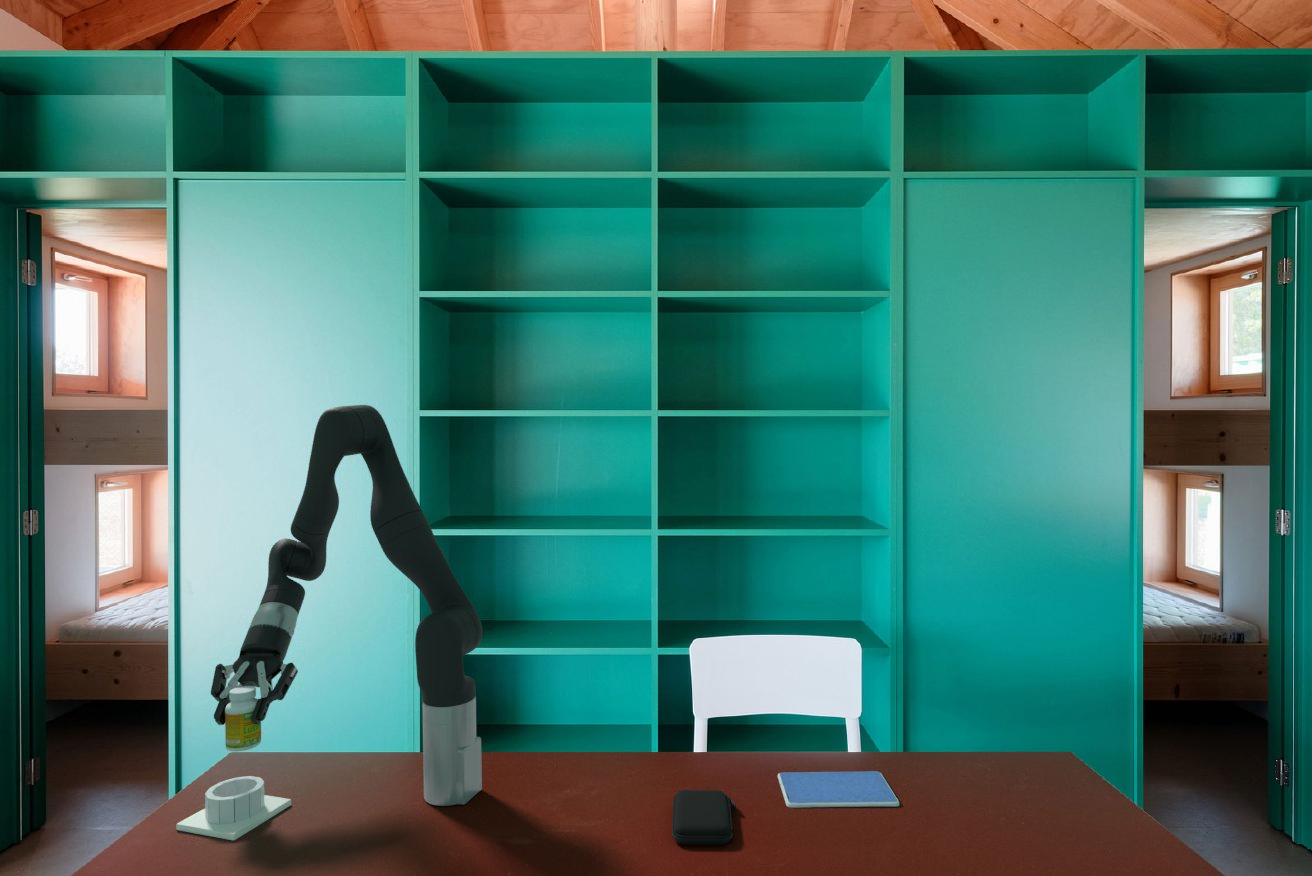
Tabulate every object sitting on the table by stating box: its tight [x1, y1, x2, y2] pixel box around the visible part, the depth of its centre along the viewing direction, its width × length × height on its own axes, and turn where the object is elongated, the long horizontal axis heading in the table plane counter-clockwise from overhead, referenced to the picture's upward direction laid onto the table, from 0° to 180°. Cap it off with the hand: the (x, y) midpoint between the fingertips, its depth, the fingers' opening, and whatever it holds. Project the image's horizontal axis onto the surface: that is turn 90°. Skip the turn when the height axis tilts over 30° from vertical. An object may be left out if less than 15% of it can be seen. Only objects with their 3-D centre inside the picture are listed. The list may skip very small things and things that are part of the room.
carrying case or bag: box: [671, 789, 737, 846], centre depth 123 cm, size 11×3×15 cm
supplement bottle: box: [224, 686, 262, 752], centre depth 129 cm, size 5×5×10 cm
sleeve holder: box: [175, 775, 292, 842], centre depth 127 cm, size 12×12×5 cm
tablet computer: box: [777, 770, 900, 809], centre depth 134 cm, size 19×13×1 cm, turn 89°
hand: (237, 722), depth 127 cm, fingers closed on supplement bottle, 5 cm apart
